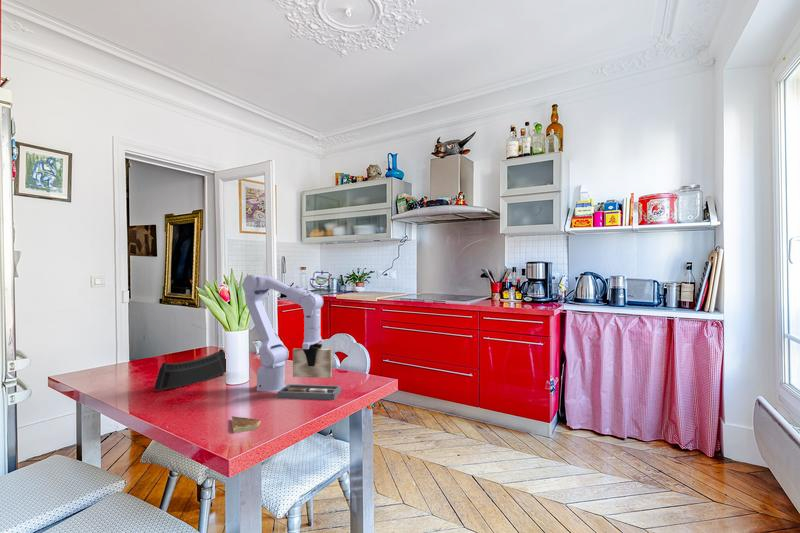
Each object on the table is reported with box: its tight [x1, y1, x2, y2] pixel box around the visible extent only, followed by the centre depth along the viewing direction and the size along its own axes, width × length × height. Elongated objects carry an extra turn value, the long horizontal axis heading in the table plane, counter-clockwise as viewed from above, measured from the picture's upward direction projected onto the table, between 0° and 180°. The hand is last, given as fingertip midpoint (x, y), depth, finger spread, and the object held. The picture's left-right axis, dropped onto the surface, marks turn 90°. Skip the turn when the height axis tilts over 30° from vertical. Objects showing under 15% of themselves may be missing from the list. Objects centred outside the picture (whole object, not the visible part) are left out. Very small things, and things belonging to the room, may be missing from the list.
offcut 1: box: [288, 388, 307, 392], centre depth 134 cm, size 6×2×2 cm, turn 84°
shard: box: [231, 416, 262, 434], centre depth 111 cm, size 11×8×2 cm
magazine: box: [153, 348, 226, 391], centre depth 152 cm, size 17×3×30 cm
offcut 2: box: [309, 388, 327, 393], centre depth 133 cm, size 6×2×2 cm, turn 84°
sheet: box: [292, 347, 333, 379], centre depth 138 cm, size 14×2×10 cm, turn 84°
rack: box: [277, 383, 342, 401], centre depth 136 cm, size 20×10×3 cm, turn 84°
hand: (312, 365), depth 138 cm, fingers closed on sheet, 1 cm apart
